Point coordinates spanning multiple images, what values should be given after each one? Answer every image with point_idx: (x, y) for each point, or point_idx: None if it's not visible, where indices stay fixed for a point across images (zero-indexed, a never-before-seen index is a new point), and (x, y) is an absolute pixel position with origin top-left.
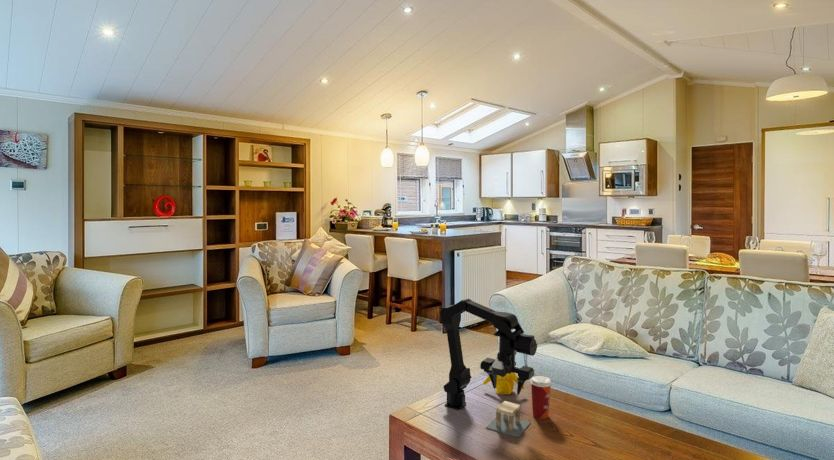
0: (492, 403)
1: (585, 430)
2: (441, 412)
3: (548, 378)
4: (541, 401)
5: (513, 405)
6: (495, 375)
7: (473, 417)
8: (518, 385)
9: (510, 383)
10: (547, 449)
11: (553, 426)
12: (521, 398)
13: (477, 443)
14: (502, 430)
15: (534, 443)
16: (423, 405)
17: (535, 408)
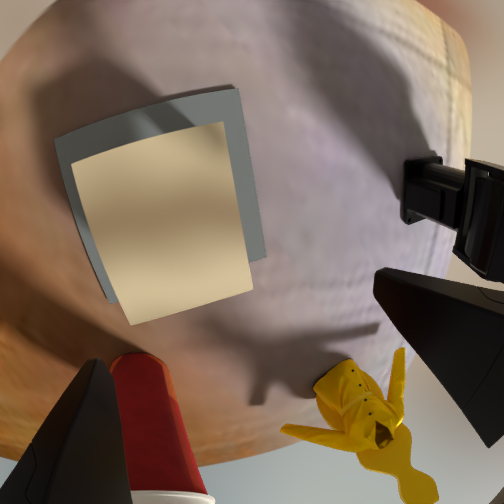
0: (336, 303)
1: (4, 383)
2: (426, 107)
3: None
4: None
5: (154, 281)
6: (467, 375)
7: (339, 143)
8: (46, 463)
9: (333, 412)
10: None
11: (50, 345)
12: (272, 397)
13: None
14: (147, 122)
15: None
16: (464, 122)
17: (136, 382)
